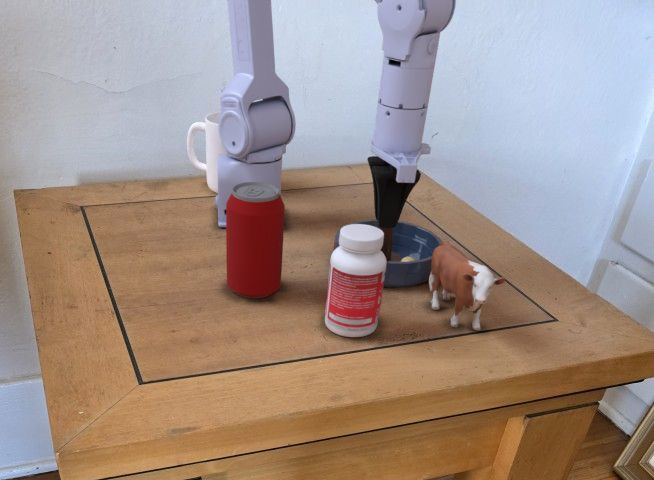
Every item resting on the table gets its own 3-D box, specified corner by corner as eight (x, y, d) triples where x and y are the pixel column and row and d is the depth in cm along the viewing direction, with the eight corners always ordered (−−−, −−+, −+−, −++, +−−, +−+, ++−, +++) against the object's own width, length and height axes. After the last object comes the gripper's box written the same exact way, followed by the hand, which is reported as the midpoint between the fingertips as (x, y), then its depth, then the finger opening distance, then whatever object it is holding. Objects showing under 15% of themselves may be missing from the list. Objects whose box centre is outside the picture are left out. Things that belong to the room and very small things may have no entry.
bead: (399, 277, 90) (402, 260, 88) (396, 269, 91) (399, 253, 90) (416, 277, 90) (419, 260, 89) (413, 269, 92) (416, 253, 90)
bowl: (339, 289, 88) (342, 262, 86) (327, 243, 98) (329, 218, 96) (449, 290, 89) (455, 264, 87) (425, 245, 99) (430, 220, 97)
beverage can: (289, 284, 88) (295, 186, 80) (266, 306, 84) (269, 205, 75) (241, 272, 90) (242, 175, 82) (216, 293, 86) (215, 193, 77)
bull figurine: (461, 349, 78) (478, 280, 73) (417, 294, 88) (429, 229, 82) (496, 345, 79) (516, 278, 74) (449, 292, 89) (464, 228, 83)
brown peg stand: (364, 270, 91) (370, 192, 84) (367, 255, 94) (373, 179, 87) (400, 272, 90) (408, 194, 83) (401, 257, 93) (410, 181, 87)
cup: (246, 199, 109) (247, 128, 102) (177, 187, 112) (173, 117, 105) (265, 183, 115) (267, 115, 108) (199, 171, 118) (197, 105, 111)
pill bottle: (383, 337, 79) (399, 242, 72) (332, 341, 78) (343, 245, 71) (366, 311, 84) (379, 219, 76) (318, 315, 83) (326, 221, 75)
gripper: (452, 122, 74) (428, 247, 83) (423, 88, 85) (405, 202, 94) (387, 120, 74) (370, 245, 83) (366, 86, 84) (353, 201, 93)
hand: (385, 223), depth 88 cm, fingers closed on brown peg stand
